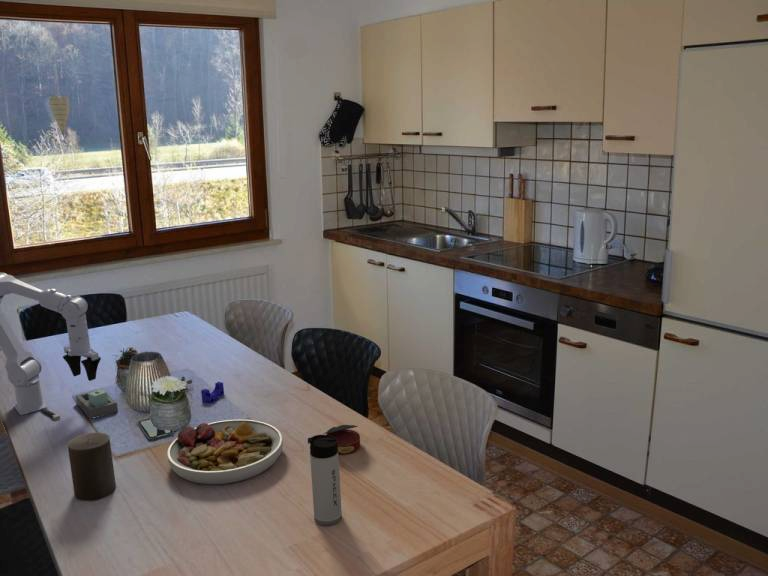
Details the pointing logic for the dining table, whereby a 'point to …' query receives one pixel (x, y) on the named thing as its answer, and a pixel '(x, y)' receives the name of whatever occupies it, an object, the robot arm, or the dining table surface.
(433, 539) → the dining table surface
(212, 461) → the bowl
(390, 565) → the dining table surface
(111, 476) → the pillar candle
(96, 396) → the block
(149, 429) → the smartphone
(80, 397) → the grey piece
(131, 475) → the dining table surface
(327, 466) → the travel mug
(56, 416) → the cable piece
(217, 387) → the cable holder
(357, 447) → the canned food
